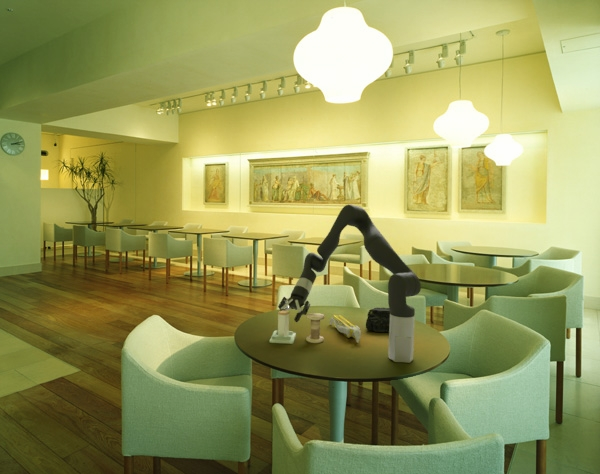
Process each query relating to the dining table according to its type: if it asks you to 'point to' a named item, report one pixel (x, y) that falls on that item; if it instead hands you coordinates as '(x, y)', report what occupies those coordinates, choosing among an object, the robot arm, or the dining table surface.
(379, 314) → the rock
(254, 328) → the dining table surface
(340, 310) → the dining table surface
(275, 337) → the ridged board
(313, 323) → the bobbin
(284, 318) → the block
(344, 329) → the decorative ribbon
